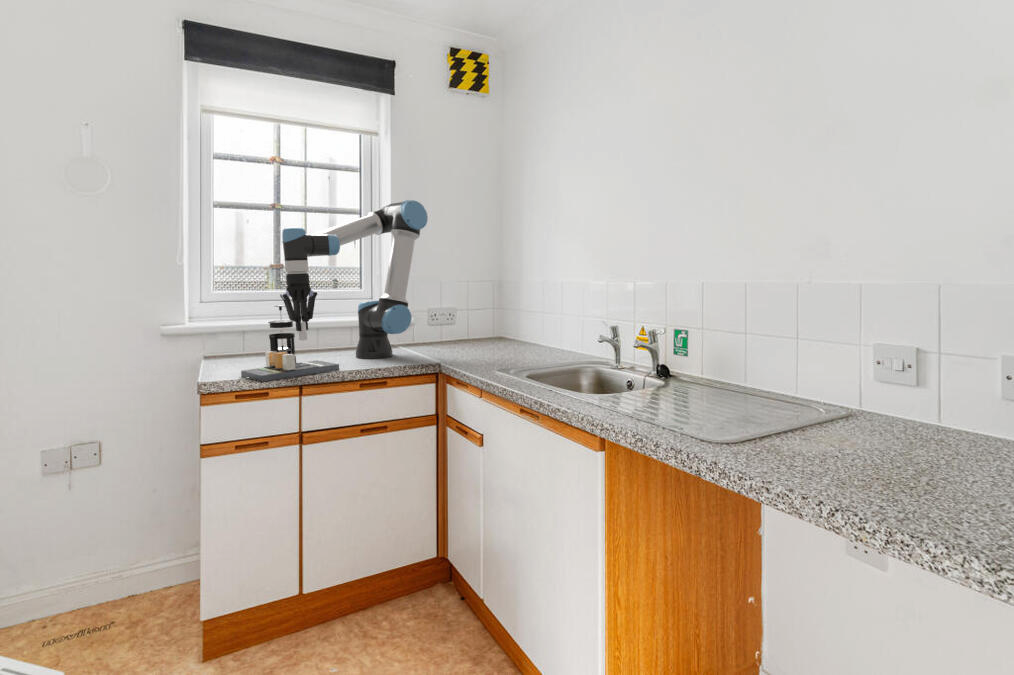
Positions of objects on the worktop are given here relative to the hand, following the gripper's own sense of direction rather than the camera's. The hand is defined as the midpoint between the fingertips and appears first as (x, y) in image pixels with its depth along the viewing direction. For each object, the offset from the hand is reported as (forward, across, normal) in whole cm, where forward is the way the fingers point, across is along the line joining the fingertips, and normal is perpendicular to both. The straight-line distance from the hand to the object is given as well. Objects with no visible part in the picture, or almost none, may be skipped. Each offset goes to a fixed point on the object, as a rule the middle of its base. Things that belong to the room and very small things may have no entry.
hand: (303, 339), depth 187 cm
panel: (+11, +5, 0) cm, 12 cm away
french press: (+11, -1, -18) cm, 21 cm away
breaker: (+8, +9, 0) cm, 12 cm away
